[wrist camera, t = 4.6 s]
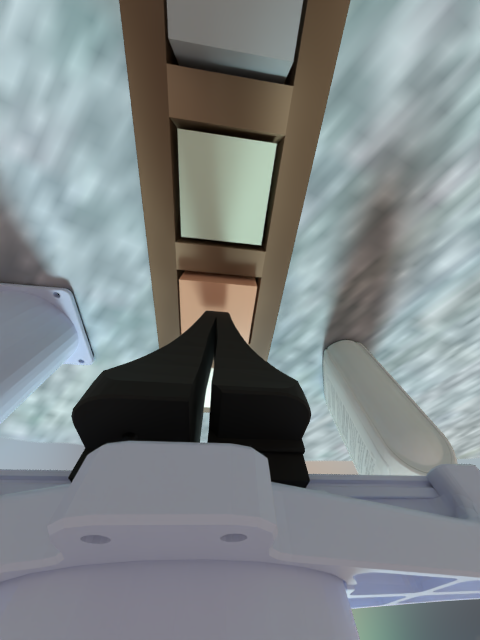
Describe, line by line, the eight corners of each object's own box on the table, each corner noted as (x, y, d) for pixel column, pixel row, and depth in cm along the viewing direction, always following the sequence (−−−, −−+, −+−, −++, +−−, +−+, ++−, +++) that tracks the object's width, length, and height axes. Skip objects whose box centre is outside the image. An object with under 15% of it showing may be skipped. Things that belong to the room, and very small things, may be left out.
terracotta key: (187, 327, 15) (181, 343, 13) (186, 269, 13) (179, 279, 11) (245, 331, 16) (247, 347, 14) (253, 275, 13) (257, 286, 12)
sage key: (187, 231, 13) (181, 236, 11) (186, 140, 11) (177, 128, 9) (257, 239, 13) (261, 245, 11) (269, 152, 11) (276, 143, 9)
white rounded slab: (357, 399, 25) (450, 545, 15) (322, 406, 26) (387, 552, 15) (362, 333, 20) (509, 484, 9) (318, 343, 20) (412, 497, 10)
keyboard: (177, 374, 22) (166, 410, 18) (146, -121, 8) (72, -400, 4) (250, 378, 23) (254, 414, 19) (336, -73, 9) (414, -279, 5)
